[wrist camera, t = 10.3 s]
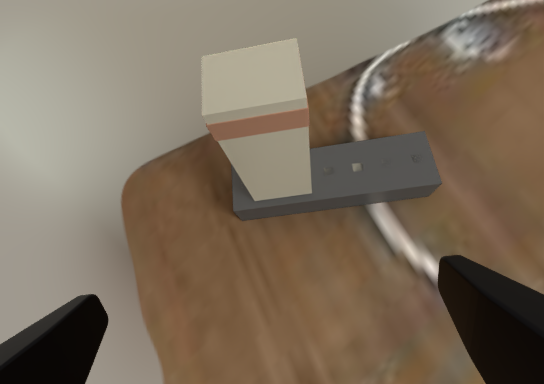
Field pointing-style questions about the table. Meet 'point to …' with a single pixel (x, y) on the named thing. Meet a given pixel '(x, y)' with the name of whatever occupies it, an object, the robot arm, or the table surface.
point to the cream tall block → (260, 116)
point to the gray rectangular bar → (352, 177)
